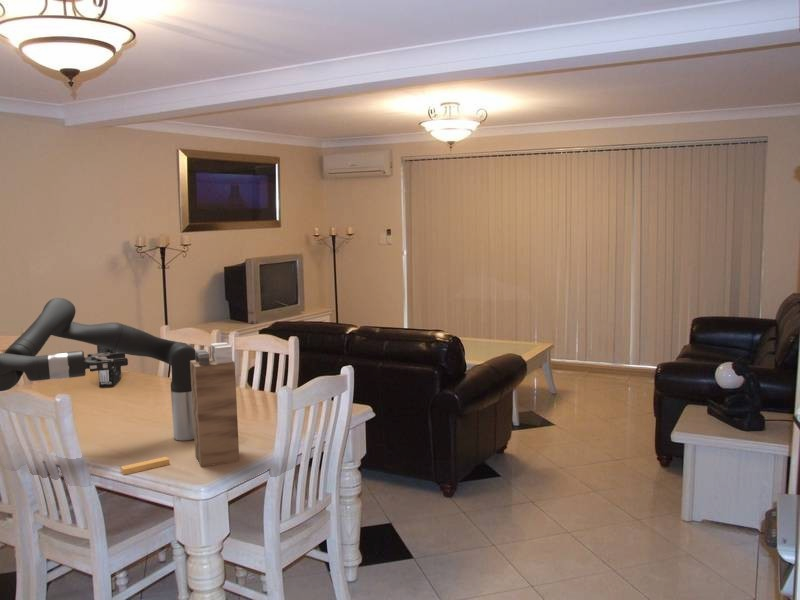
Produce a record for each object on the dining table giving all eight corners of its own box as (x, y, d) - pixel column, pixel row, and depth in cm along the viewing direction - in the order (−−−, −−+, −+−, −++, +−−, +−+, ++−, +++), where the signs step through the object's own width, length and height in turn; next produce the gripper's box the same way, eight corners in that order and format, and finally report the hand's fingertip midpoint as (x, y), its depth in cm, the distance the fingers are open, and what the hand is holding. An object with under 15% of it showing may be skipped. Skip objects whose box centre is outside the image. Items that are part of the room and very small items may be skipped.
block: (121, 473, 215) (120, 466, 215) (166, 462, 223) (166, 456, 223) (123, 475, 213) (123, 469, 213) (169, 465, 221) (169, 459, 221)
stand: (195, 456, 227) (189, 345, 222) (232, 450, 232) (227, 341, 227) (200, 467, 218) (194, 350, 213) (239, 460, 223) (234, 346, 218)
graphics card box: (107, 379, 332) (103, 322, 328) (123, 378, 333) (119, 322, 329) (99, 388, 315) (94, 329, 311) (115, 387, 316) (111, 328, 312)
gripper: (67, 372, 209) (125, 366, 216) (68, 383, 197) (129, 375, 204) (65, 348, 208) (123, 342, 215) (65, 357, 196) (127, 350, 203)
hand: (126, 358), depth 210 cm, fingers open, 8 cm apart
